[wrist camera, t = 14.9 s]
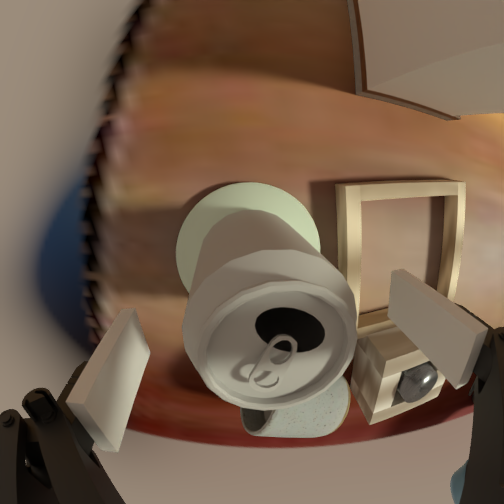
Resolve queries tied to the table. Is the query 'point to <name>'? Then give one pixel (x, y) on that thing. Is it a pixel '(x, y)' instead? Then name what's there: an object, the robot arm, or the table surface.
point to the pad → (231, 202)
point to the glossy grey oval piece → (417, 382)
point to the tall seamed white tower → (430, 54)
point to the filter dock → (378, 323)
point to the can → (267, 314)
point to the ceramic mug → (302, 415)
